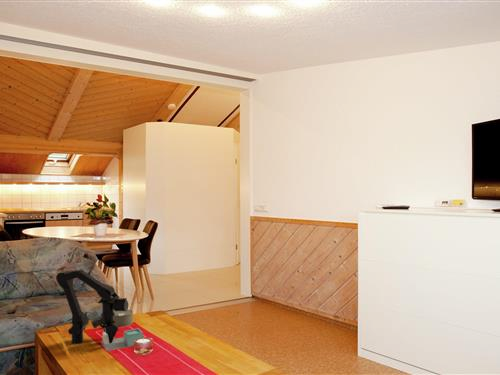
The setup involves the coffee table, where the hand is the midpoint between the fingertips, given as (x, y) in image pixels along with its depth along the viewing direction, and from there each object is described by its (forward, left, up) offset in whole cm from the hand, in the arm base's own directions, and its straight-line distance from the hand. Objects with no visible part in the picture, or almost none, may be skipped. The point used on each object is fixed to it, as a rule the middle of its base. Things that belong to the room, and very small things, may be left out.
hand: (108, 340), depth 234 cm
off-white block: (0, 0, -1) cm, 1 cm away
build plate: (+5, +6, -2) cm, 8 cm away
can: (-31, +15, -2) cm, 35 cm away
